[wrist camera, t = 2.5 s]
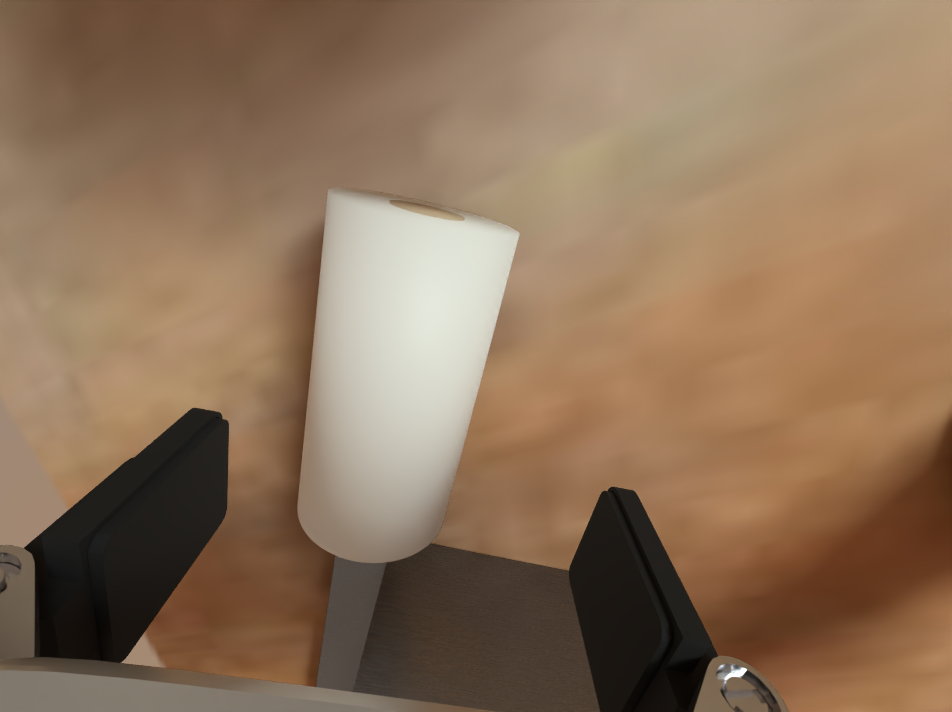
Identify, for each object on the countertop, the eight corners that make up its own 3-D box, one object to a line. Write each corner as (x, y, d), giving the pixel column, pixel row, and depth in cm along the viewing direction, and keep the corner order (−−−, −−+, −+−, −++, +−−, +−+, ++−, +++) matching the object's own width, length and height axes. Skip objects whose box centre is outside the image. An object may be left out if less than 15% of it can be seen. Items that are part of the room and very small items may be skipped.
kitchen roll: (558, 242, 14) (393, 221, 10) (472, 528, 19) (336, 591, 15) (447, 202, 18) (296, 176, 14) (398, 447, 23) (275, 480, 19)
